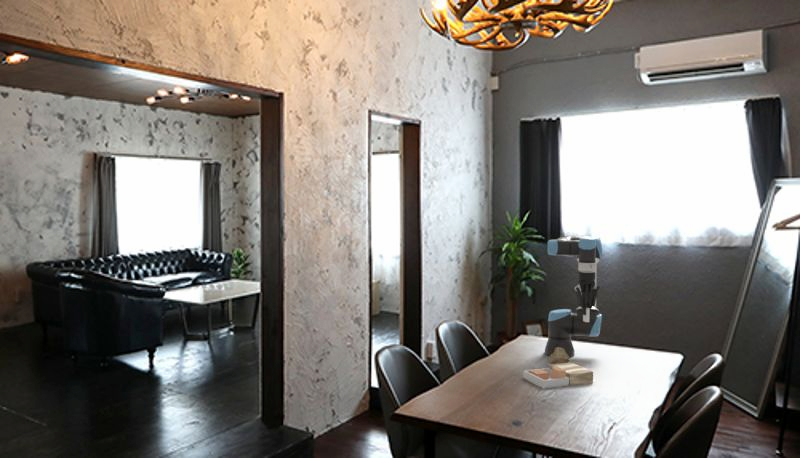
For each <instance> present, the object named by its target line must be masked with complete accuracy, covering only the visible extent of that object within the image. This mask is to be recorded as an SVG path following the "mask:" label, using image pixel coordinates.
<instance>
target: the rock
mask: <svg viewBox="0 0 800 458" xmlns="http://www.w3.org/2000/svg"><path fill="white" fill-rule="evenodd" d="M548 359H549V360H548V366H549V365H550V364H559V363H569V362H570V357H569V355H567V354H566V352H565V350H564V349H563V348H559V347H556V348H555V350H554V352H553V354H551V355H550V356H549V357H548Z"/></svg>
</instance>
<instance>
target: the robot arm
mask: <svg viewBox="0 0 800 458" xmlns="http://www.w3.org/2000/svg"><path fill="white" fill-rule="evenodd" d="M547 254H548V255H549V256H565V257H569V258H576V261H577V262H578V267H577V270H578V273H577V274H578V275H577V278H578V283H577V285H576V286H573V290H574V292H575V296H576V301H577V306H578V307H577V308H576V309H575V312H572V310H571V309H570V308H569V309H568V308H567V309H566V308H563V309H554V310H550V311H549V313H548V320H547V321H548V330H547V331H548V332H547V333H548V336H547V337H548V339H547V341H546V344H545V347H544V354H545V355H547V356H549V357H550V355H551V354H553V352H554V350H555V348H556V347H559V348H563V349H564V350H565V352H566V354H567V355H569V358H571V357H574V356H575V348H574V346H573V345H574V344H573V342H572V336H578V337H579V336H582V337H589V338H590V337H599V335H600V332H601V326H602V320H603V319H602V318H603V315H602V314H601V313H600V310H599V309H598V308H597V296H598V291H599V290H600V289H601V287H600V285H597V269H598V268H597V264H598V263H599V262H601V261H600V259H602V258H603V248H602V241H601V238H600V236H595V235H567V236H561V237H558V238H557V239H549V240H548V241H547Z"/></svg>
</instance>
